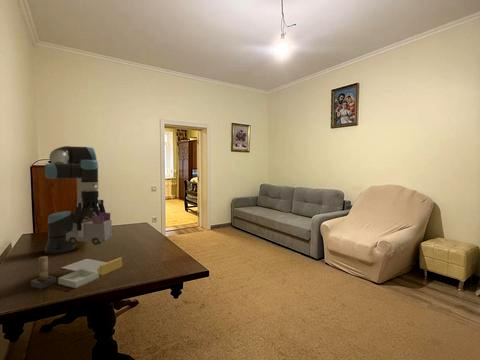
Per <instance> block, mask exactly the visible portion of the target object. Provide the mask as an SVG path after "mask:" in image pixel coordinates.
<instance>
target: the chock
mask: <svg viewBox="0 0 480 360" xmlns="http://www.w3.org/2000/svg"><path fill="white" fill-rule="evenodd" d="M106 262H107V261H106ZM121 267H123V257H118V258H115V259H112V260H110V261H108V262H107V263H105V264H102V265H100V267H99V268H97V272H99V275H100V276H104V275H106V274H109V273H110V272H113V271H115V270H118V269H120V268H121Z"/></svg>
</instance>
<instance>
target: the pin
mask: <svg viewBox="0 0 480 360" xmlns="http://www.w3.org/2000/svg"><path fill="white" fill-rule="evenodd" d="M48 275H49V257H48V256H47V255H46V256H45V255H44V256H40V257H38V278H39V281H40V282H43V281H45V280H48Z"/></svg>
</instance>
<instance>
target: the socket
mask: <svg viewBox="0 0 480 360" xmlns="http://www.w3.org/2000/svg"><path fill="white" fill-rule="evenodd" d="M56 283H57V277H56V276H52V275H49V274H48V280H45V281H43V282H40V281H39V277H38V278H35V279H32V280H30V287H32V288H35V289H39V290H43V289H45V288H47V287H50V286H53V284H56Z"/></svg>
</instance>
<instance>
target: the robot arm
mask: <svg viewBox="0 0 480 360" xmlns="http://www.w3.org/2000/svg"><path fill="white" fill-rule="evenodd" d="M49 161H50V163H46V164H45V165H44V176H45V179H53V180H56V179H76V191H77V195H76V197H77V198H76V199H77V202H75V210H74V212H72V211H71V210H65V211H64V210H63V211H58V212H54V213H51V214H49V215H48V216H47V229H48V230H47V233H48V236H47V237H48V239H47V241H46V242H47V243H46V245H45V249H44V253H46V254H49V255H54V254H55V255H57V254H63V253H67V252H70V251H73V250H75V248H76V244H71V243H70V241H65V239H66V233H68V232H70V231H72V229H73V223H76V224H77V230H78V237H84V226H83V224H82V222H83V219H84V217H85V215H86V216H87V217H89V218H90V219H92V216H99V213H107V212H106V209H105V206H104V200H103V199H99V196H100V195H99V163H98V160H97V154H96V151H95V149H94V148H93V147H89V146H69V145H67V146H66V145H65V146H61V147H58V148H55V149H53V150H52V151H51V152H50V154H49ZM72 220H73V222H72Z"/></svg>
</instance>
